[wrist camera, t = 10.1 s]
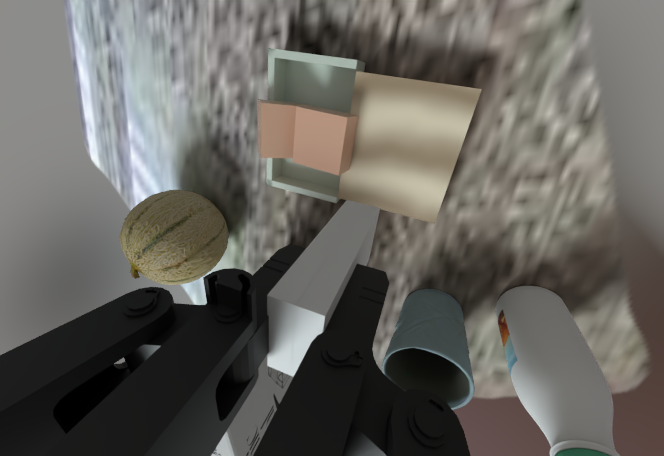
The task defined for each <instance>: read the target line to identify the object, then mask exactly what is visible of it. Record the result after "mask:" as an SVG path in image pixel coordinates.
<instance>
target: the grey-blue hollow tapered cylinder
mask: <svg viewBox="0 0 664 456" xmlns="http://www.w3.org/2000/svg"><path fill="white" fill-rule="evenodd" d="M395 329H396V331H395V333H394V335H393V337H392V339H391V342H390V344H389V347H388V350H387V352H386V355H385V358H384V360H383V364H382V369H383V374H384V375H385V376H386V377H387V378H389V379H390V380H391V381H392V382H393V383H395V384H396V385H397V386H399V387H400V388H401V389H403V390H404V391H407V390H409V389H422V390H425V391H428V392H431V393H433V394H435V395H436V396H438V397H439V398H441V399H442V400H443V401H445V402H446V403H447V404H448V405H449V407H450V408H451V409H452V410H453V409H456V408H460V407H462V406H464V405H466V404H467V403H468V402H469V401H470V400H471V399H472V397H473V395H474V381H473V376H472V370H471V364H470V359H469V350H468V345H467V337H466V331H465V326H464V318H463V312H462V309H461V307H460V305H459V304H458V302H457V301H456V300H455V299H454V298H453V297H452V296H450V295H449V294H447V293H445V292H443V291H440V290H435V289H421V290H418V291H415V292H413V293H411V294H410V295H409V296H408V297H407V298H406V300H405V301H404V304H403V307H402V310H401V313H400V317H399V319H398V322H397V325H396V327H395Z"/></svg>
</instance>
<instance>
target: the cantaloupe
mask: <svg viewBox="0 0 664 456" xmlns="http://www.w3.org/2000/svg"><path fill="white" fill-rule="evenodd" d="M120 242H121V247H122V250H123V252H124V254H125V256H126V258H127V259H128V261H129V262H130V264H131V274H132V277H134V278H135V279H136V278H139V274H138V272H137V271H139V272H140V273H141V274H142V275H144V276H145V277H147V278H148V279H150V280H152V281H155V282H157V283H161V284H168V285H177V284H184V283H189V282H192V281H194V280H197V279H199V278H200V277H202V276H204V275H205V274H207V273H208V272H209V271H211V269H213V268H214V267H215V266H216V265H217V263H218V262H219V261H220V259H221V258H222V256H223V254H224V252H225V250H226V248H227V244H228V228H227V224H226V221H225V219H224V217H223V215H222V213H221V212H220V211H219V210H218V209H217V208H216V207H215V206H214V204H213V203H212V202H210V201H209V200H208V199H206V198H205V197H203V196H201V195H199V194H196V193H194V192H191V191H185V190H169V191H165V192H161V193H158V194H154V195H152V196H150V197H148V198H147V199H145V200H144V201H142V202H141V203H139V204H138V205H137V206H136V207H134V208H133V209H132V210H131V212H130V213H129V214H128V216H127V217H126V218H125V221H124V223H123V226H122V229H121V233H120Z"/></svg>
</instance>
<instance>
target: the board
mask: <svg viewBox="0 0 664 456" xmlns="http://www.w3.org/2000/svg"><path fill="white" fill-rule="evenodd" d="M481 90H482V89H477V88H470V87H463V86H456V85H449V84H442V83H435V82H428V81H421V80H414V79H407V78H400V77H393V76H386V75H379V74H372V73H365V72H358V71H356V76H355V83H354V90H353V96H352V103H351V110H350V114H353V115H357V116H359V117H358V123H357V128H356V134H355V140H354V146H353V152H352V158H351V163H350V169H349V170H348V171H346V172H344V173H343V174H341V177H340V184H339V191H338V197H337V198H340V199H344V200H349V201H353V202H357V203H361V204H366V205H370V206H374V207H378V208H380V209H382V210H385V211H389V212H393V213H397V214H401V215H404V216H408V217H412V218H416V219H420V220H423V221H427V222H431V223H435V221H436V218H437V215H438V212H439V210H440V207H441V204H442V201H443V198H444V195H445V193H446V190H447V187H448V184H449V181H450V178H451V175H452V173H453V170H454V167H455V164H456V161H457V158H458V156H459V153H460V150H461V147H462V144H463V141H464V139H465V136H466V133H467V130H468V127H469V124H470V122H471V119H472V116H473V113H474V110H475V107H476V104H477V102H478V99H479V96H480V93H481Z"/></svg>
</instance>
